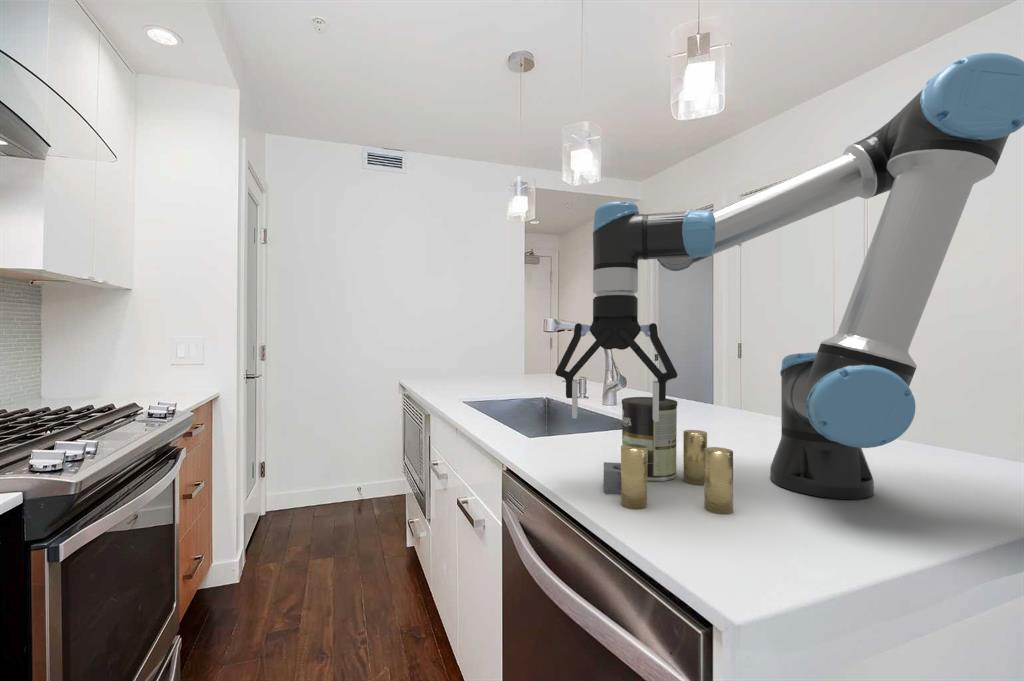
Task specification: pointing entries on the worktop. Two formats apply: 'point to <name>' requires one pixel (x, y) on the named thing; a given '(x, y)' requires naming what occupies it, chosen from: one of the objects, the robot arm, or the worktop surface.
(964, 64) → the robot arm
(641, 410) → the coffee can
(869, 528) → the worktop surface
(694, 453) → the brass spacer
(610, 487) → the grey square block
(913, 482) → the worktop surface
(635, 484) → the brass spacer
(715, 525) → the worktop surface
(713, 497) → the brass spacer
